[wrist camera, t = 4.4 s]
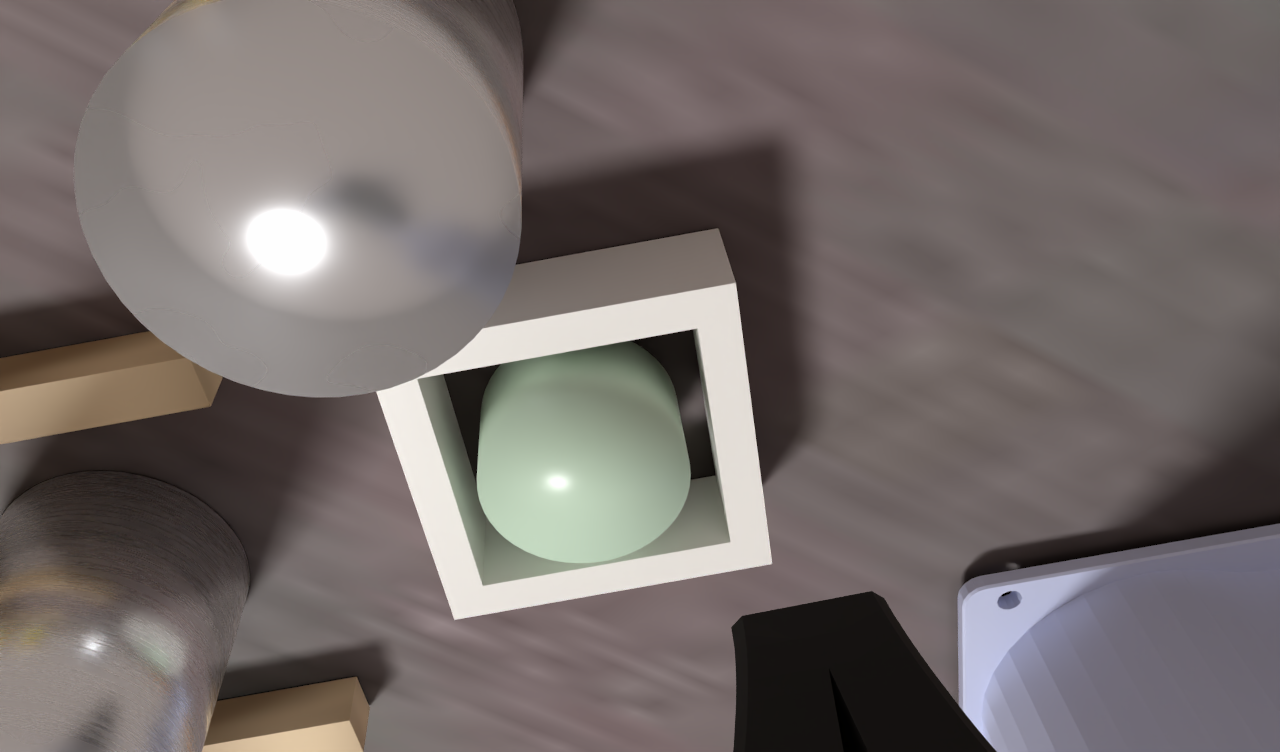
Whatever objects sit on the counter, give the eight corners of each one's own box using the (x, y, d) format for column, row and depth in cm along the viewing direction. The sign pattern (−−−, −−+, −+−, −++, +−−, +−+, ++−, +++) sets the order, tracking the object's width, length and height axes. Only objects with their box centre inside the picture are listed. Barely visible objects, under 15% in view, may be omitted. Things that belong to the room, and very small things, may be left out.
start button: (662, 313, 20) (675, 375, 19) (689, 474, 22) (703, 543, 20) (459, 350, 20) (453, 414, 19) (504, 507, 22) (502, 578, 21)
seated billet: (198, 450, 22) (97, 700, 16) (282, 632, 24) (217, 897, 19) (-54, 495, 22) (-231, 757, 17) (56, 672, 24) (-66, 945, 19)
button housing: (718, 228, 20) (735, 283, 18) (754, 496, 23) (772, 563, 22) (375, 290, 20) (361, 349, 18) (459, 548, 23) (454, 619, 22)
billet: (483, -143, 17) (464, -44, 12) (550, 168, 19) (559, 359, 14) (155, -81, 17) (-8, 44, 12) (266, 220, 19) (173, 428, 14)
